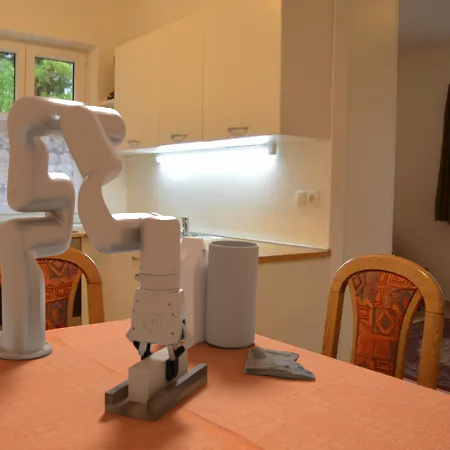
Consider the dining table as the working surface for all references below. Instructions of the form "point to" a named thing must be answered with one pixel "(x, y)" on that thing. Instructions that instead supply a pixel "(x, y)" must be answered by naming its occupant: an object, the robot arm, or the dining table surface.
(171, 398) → the brown long channel piece
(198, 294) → the milk
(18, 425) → the dining table surface
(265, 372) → the fossil rock
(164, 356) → the beige rectangular block
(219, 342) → the cylinder vase
